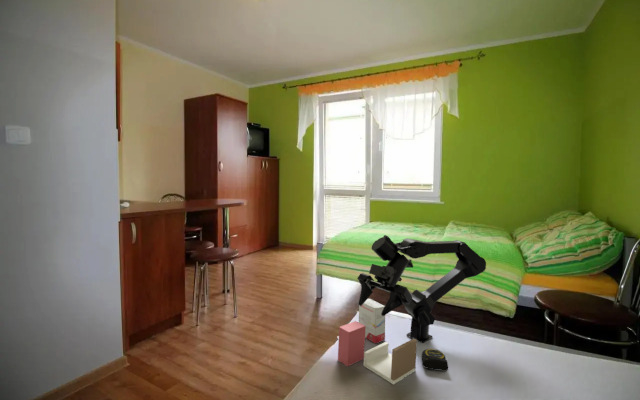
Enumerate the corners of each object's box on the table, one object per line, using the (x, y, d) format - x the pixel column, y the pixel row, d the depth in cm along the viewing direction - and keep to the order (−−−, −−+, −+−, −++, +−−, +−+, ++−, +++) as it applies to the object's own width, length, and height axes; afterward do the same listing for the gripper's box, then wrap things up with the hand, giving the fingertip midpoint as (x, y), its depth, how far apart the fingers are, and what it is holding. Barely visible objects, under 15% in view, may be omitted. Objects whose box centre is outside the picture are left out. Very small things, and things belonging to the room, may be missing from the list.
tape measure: (422, 371, 88) (423, 358, 88) (420, 358, 95) (421, 346, 95) (448, 375, 87) (448, 362, 86) (444, 361, 93) (444, 349, 93)
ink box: (385, 340, 104) (387, 306, 104) (374, 344, 101) (376, 309, 101) (367, 330, 112) (369, 297, 111) (357, 333, 109) (358, 300, 108)
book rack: (385, 354, 96) (386, 325, 95) (415, 370, 88) (417, 339, 87) (363, 365, 89) (365, 335, 89) (393, 384, 81) (395, 351, 81)
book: (354, 352, 96) (355, 320, 96) (363, 358, 93) (365, 325, 93) (337, 360, 92) (339, 326, 91) (347, 366, 89) (349, 332, 88)
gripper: (362, 249, 107) (337, 286, 100) (409, 261, 92) (383, 305, 86) (376, 268, 112) (353, 305, 105) (422, 282, 98) (399, 326, 91)
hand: (370, 310), depth 97 cm, fingers open, 9 cm apart
